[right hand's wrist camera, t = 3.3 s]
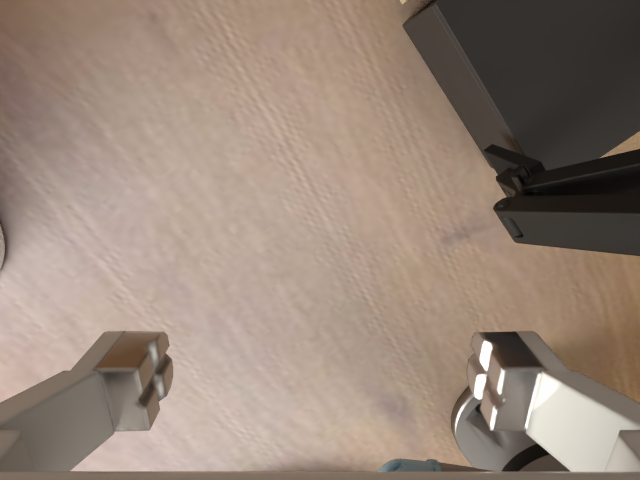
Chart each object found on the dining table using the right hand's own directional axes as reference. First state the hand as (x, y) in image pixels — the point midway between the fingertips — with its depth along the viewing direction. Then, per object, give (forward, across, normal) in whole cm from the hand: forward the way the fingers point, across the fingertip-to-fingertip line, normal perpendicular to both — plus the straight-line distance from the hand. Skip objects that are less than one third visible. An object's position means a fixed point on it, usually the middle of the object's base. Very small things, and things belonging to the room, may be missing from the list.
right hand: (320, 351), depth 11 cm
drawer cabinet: (+28, +16, +8) cm, 33 cm away
